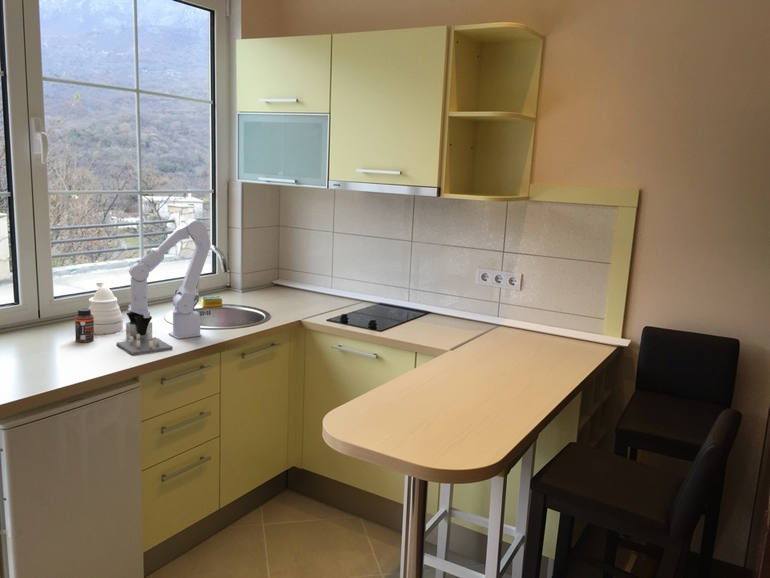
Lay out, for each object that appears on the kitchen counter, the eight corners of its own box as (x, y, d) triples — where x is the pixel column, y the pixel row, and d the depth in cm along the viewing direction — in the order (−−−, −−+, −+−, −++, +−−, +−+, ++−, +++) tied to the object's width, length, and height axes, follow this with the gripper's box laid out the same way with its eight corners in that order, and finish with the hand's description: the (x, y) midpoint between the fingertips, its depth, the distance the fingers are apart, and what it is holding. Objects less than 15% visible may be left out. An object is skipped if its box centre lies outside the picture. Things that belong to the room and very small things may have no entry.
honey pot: (77, 330, 240) (76, 282, 237) (104, 323, 252) (103, 278, 249) (104, 335, 236) (103, 287, 232) (130, 328, 248) (129, 282, 244)
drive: (147, 335, 239) (147, 319, 238) (152, 338, 236) (152, 322, 235) (126, 338, 234) (126, 322, 233) (130, 341, 231) (130, 324, 230)
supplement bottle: (86, 343, 225) (86, 312, 222) (71, 341, 226) (70, 310, 224) (97, 339, 230) (97, 308, 228) (82, 337, 231) (82, 306, 229)
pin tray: (155, 340, 234) (155, 330, 234) (172, 349, 224) (172, 339, 224) (116, 345, 225) (116, 335, 224) (132, 355, 215) (132, 345, 214)
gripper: (120, 293, 235) (120, 329, 237) (135, 301, 224) (136, 339, 227) (139, 292, 240) (139, 327, 242) (155, 299, 229) (155, 336, 232)
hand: (139, 333), depth 235 cm, fingers open, 5 cm apart
